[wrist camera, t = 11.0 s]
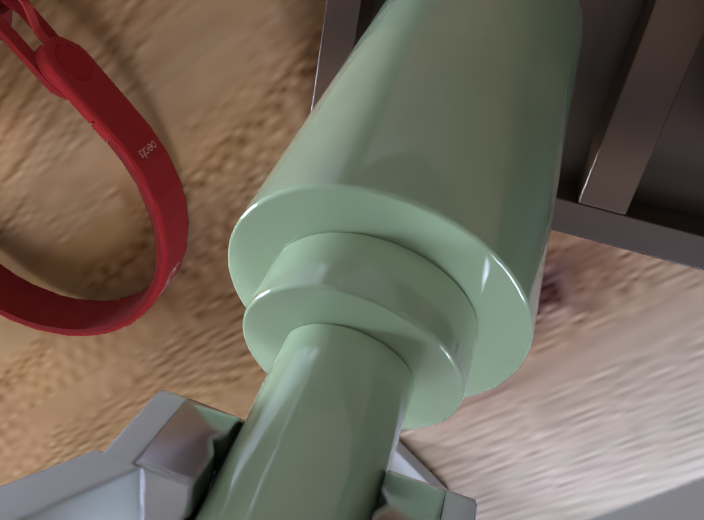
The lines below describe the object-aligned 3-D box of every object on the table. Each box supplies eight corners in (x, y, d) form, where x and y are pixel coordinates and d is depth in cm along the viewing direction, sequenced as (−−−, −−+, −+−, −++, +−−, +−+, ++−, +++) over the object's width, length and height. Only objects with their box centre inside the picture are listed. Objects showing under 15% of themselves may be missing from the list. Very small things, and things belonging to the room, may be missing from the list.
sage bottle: (398, -87, 18) (-41, 453, 7) (616, -45, 17) (536, 684, 6) (378, 98, 23) (101, 596, 12) (547, 139, 22) (428, 735, 10)
